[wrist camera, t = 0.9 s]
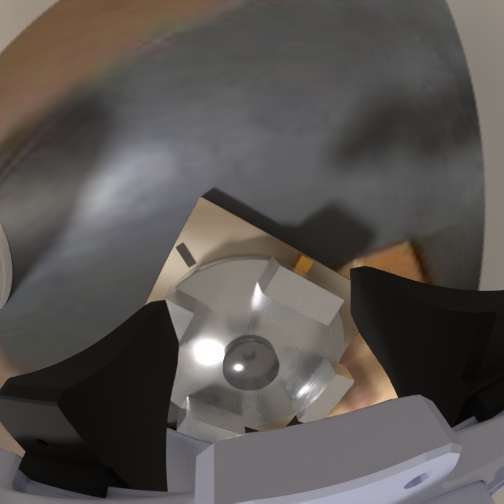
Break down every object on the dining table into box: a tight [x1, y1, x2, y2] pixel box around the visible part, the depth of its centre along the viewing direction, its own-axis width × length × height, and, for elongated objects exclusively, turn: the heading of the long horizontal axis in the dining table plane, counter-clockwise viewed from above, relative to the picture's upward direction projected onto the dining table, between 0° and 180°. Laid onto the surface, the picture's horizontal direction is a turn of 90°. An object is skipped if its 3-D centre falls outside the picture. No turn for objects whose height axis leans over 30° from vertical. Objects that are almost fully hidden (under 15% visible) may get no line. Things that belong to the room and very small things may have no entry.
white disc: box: [163, 252, 355, 444], centre depth 21 cm, size 16×15×4 cm
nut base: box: [146, 197, 358, 431], centre depth 24 cm, size 17×17×1 cm
